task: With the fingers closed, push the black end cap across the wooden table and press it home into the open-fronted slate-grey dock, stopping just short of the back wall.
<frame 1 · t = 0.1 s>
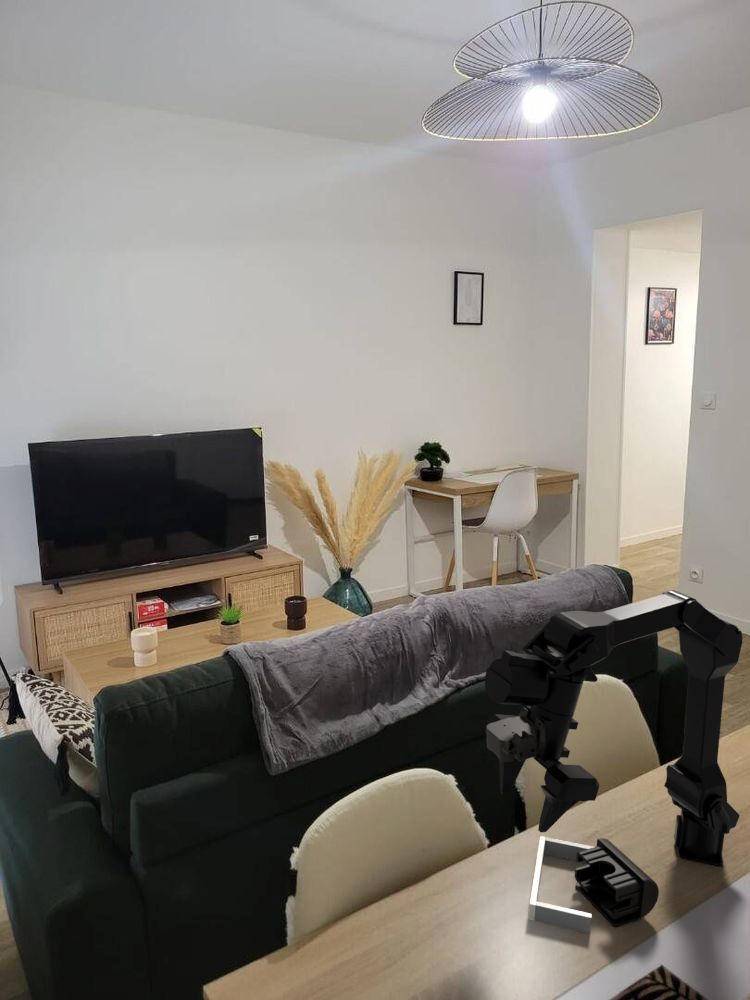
hand: (522, 812, 107), 15 cm above the table, tool pointing down, fingers open, 9 cm apart
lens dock: (563, 888, 114), on the table
end cap: (613, 901, 112), on the table
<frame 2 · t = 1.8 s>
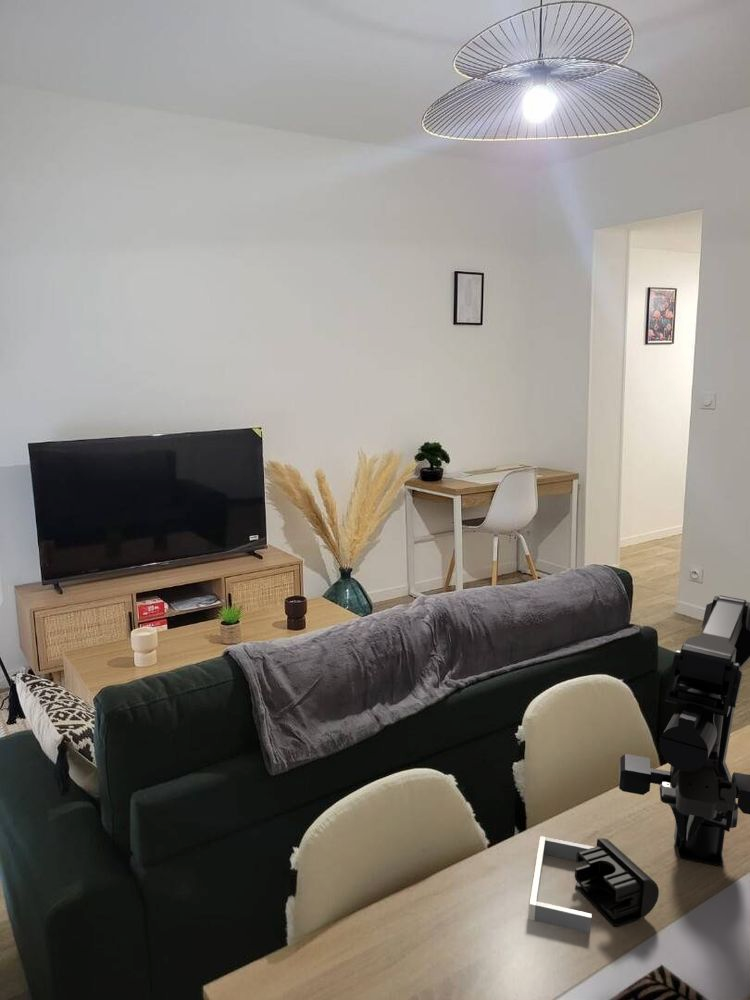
hand: (684, 838, 107), 12 cm above the table, tool pointing down, fingers closed
nothing on the table moved.
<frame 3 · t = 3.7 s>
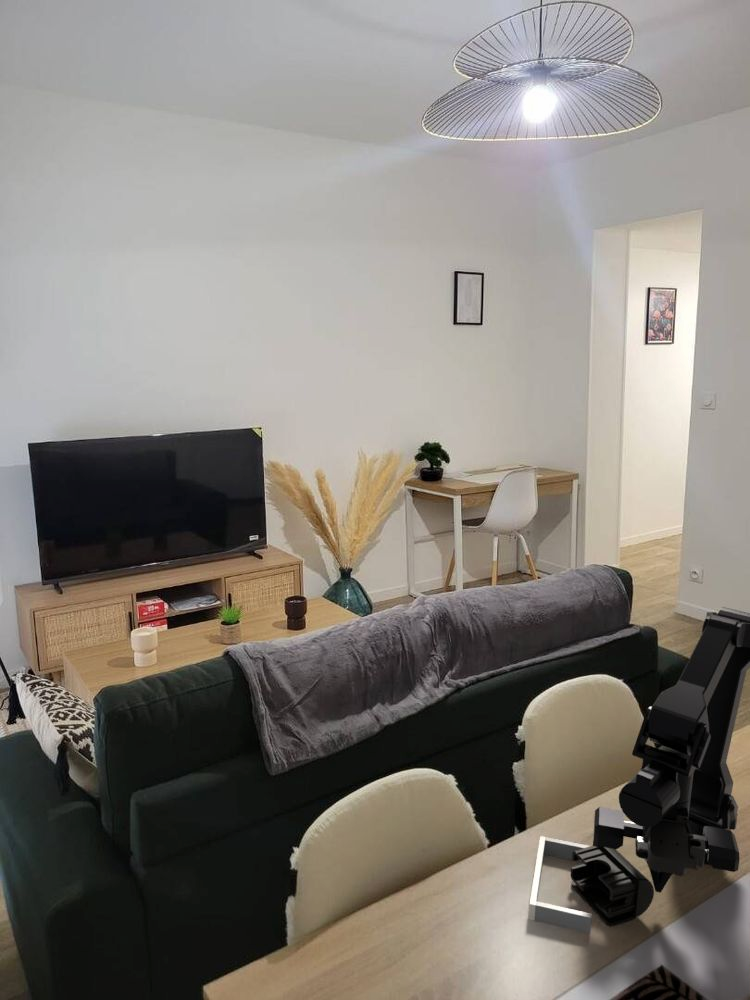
hand: (657, 890, 110), 3 cm above the table, tool pointing down, fingers closed
nothing on the table moved.
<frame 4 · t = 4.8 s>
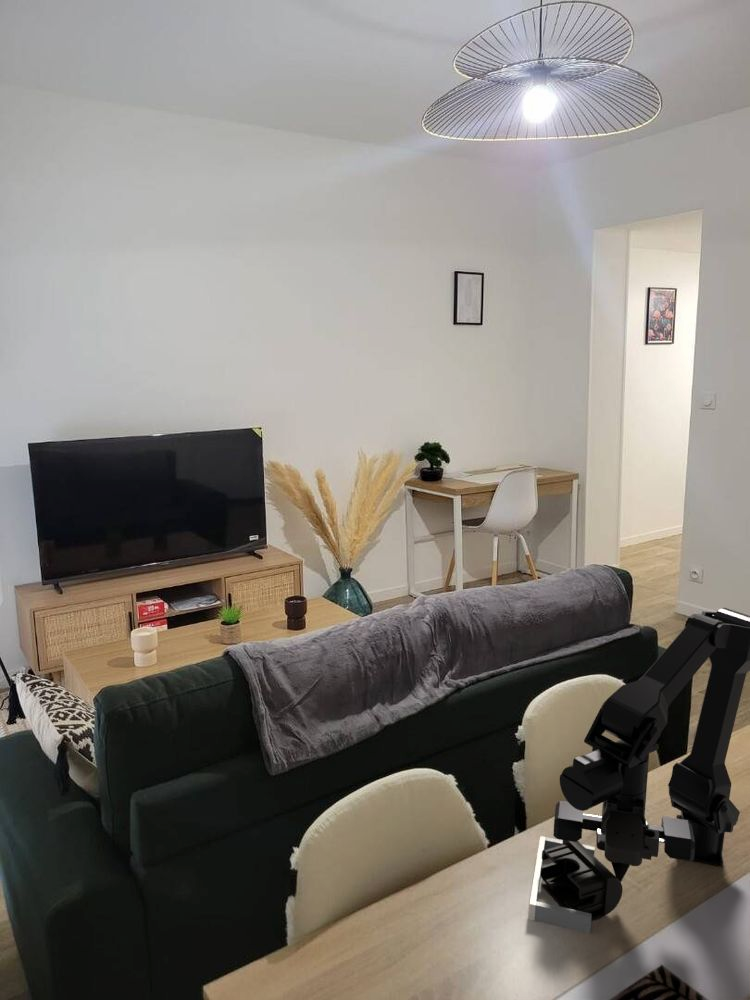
hand: (618, 881, 112), 3 cm above the table, tool pointing down, fingers closed
end cap: (578, 899, 112), on the table, touching gripper, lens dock
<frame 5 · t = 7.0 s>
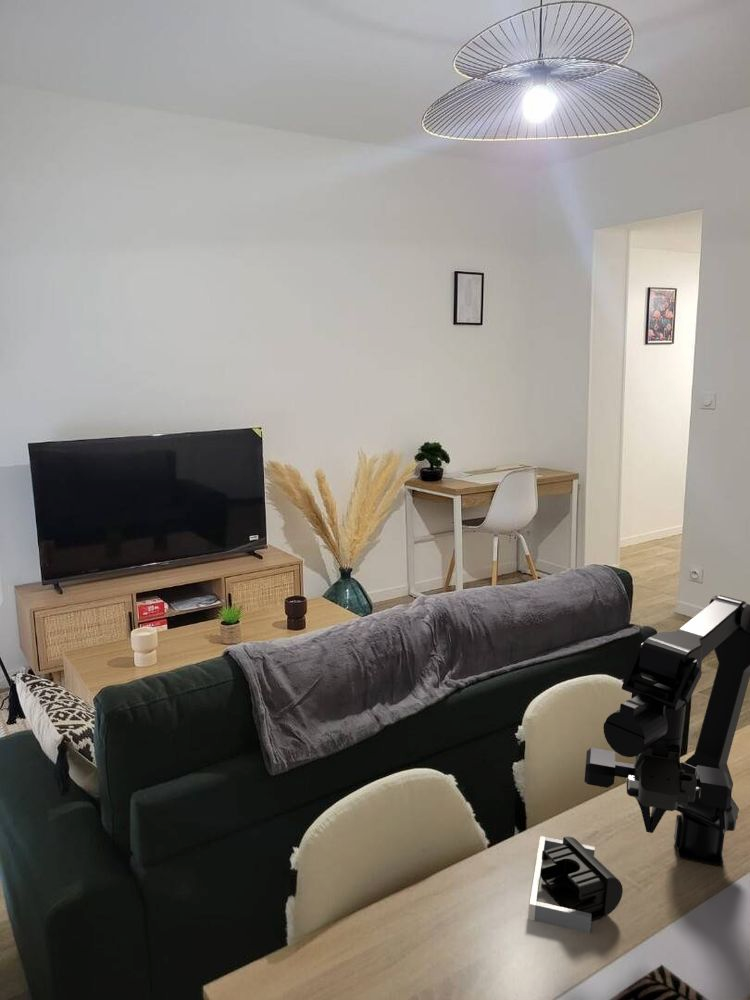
hand: (649, 831, 109), 12 cm above the table, tool pointing down, fingers closed
end cap: (578, 899, 113), on the table
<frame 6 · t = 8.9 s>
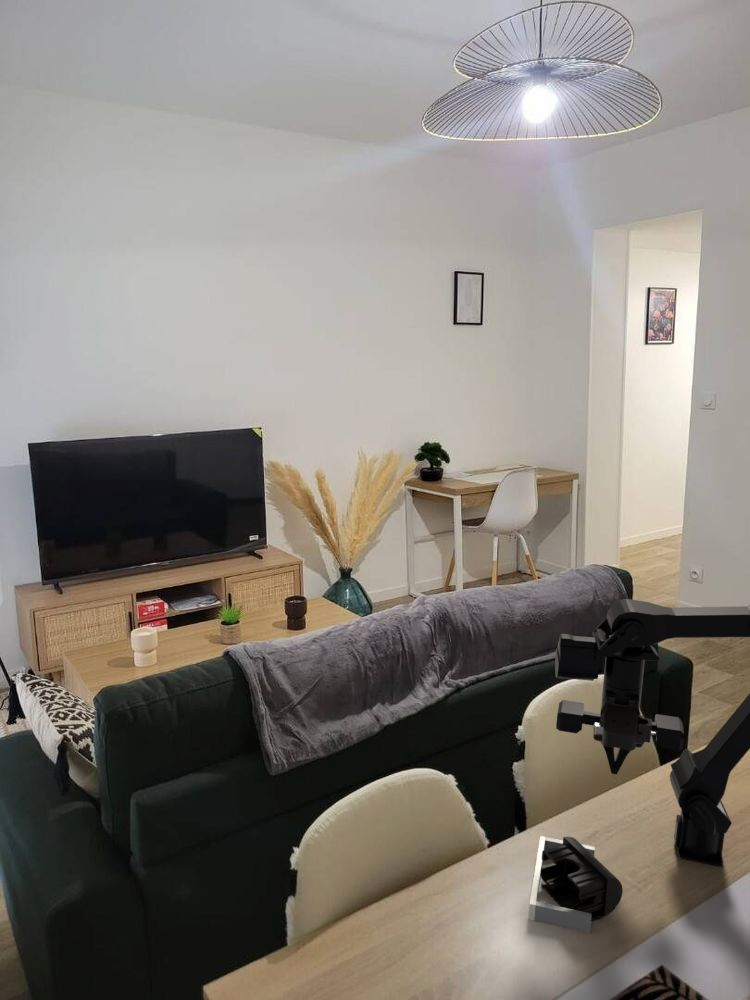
hand: (614, 772, 123), 12 cm above the table, tool pointing down, fingers closed
nothing on the table moved.
at the end: end cap 2.1 cm off-centre on the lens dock, point 0.0 cm above the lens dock's base; end cap moved 5.0 cm from its start; the gripper is holding nothing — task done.
